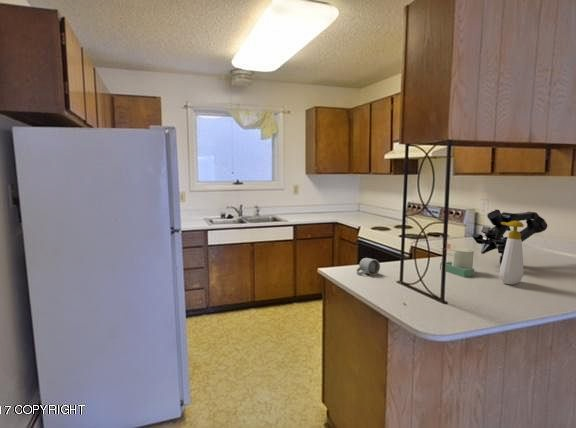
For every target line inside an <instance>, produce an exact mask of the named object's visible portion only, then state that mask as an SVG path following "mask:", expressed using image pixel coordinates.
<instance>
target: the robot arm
mask: <svg viewBox="0 0 576 428" xmlns="http://www.w3.org/2000/svg"><path fill="white" fill-rule="evenodd" d="M487 219H488V220H489V221H490V223H491V225H493V227H490V226H482V228H481V231H480V232H481V233H483V234H484V236H483V235H482V234H479V233H474V234H473V235H472V238H473V240H474V241H475V243H476V244H479V245H481V250H480V253H481V254H483V255H485V254H486V253H488V252H491V251H493V250H497V251H498V254H501V255H500V256H499V264H500V265H501V263H502V259H503V255H504V250H505V246H506V242H507V238H508V236H505V237H504V235H505V233H506V232H510V231H511V226H507V225H502V224H501V222H506V223H508V222H511V221H519V222H521V221H525V223H526V227H525V228H523V229H522V230H521V231H519V232H520V233H521V240H522V243H523V242H525V241H526V240H527V239H528V238H530V237H532V236H533V235H535V234H538V233H539V234H540V233H543V232H544V231H546V230H547V229H548V223H547V222H546V220H545V219H544V218H543V217H542V216H540V215H539V214H538V213H537V212H535V211H526V212H515V213H512V212H506V211H503V212H502V213H501V211H500V209H494V210H492V211H490V212H488V213H487Z"/></svg>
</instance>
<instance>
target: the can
mask: <svg viewBox="0 0 576 428" xmlns="http://www.w3.org/2000/svg"><path fill="white" fill-rule="evenodd" d="M474 254H475V251H474V249H471V248H467V247H454V248H453V262H452V266H455V267H459V268H462V269H469V268H473V266H474V264H473V263H474ZM473 269H474V268H473Z"/></svg>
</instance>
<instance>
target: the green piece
mask: <svg viewBox="0 0 576 428" xmlns="http://www.w3.org/2000/svg"><path fill="white" fill-rule="evenodd" d="M442 248H443V246H442ZM446 249H447V250H451V243H447V248H446ZM445 262H446V271H445V272H448V273H450V274H453V275H456V276H459V277H461V278H468V277H474V276H475V275H474V274H475V268H469V269H462V268H459V267H455V266H453V262H452V261H445ZM441 265H442V262H440V264H439V270H441Z"/></svg>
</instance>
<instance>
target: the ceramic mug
mask: <svg viewBox="0 0 576 428" xmlns="http://www.w3.org/2000/svg"><path fill="white" fill-rule="evenodd" d="M380 269H381V264H380V261H378V260H377V259H373V258H370V257H364V258H362V259H361V260H360V261H359V267H358V268H357V269H356V274H357V275H359V276H361V275H362V276H363V275H366V274H369V275H371V276H375V275H377V274H379V271H380Z"/></svg>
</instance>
